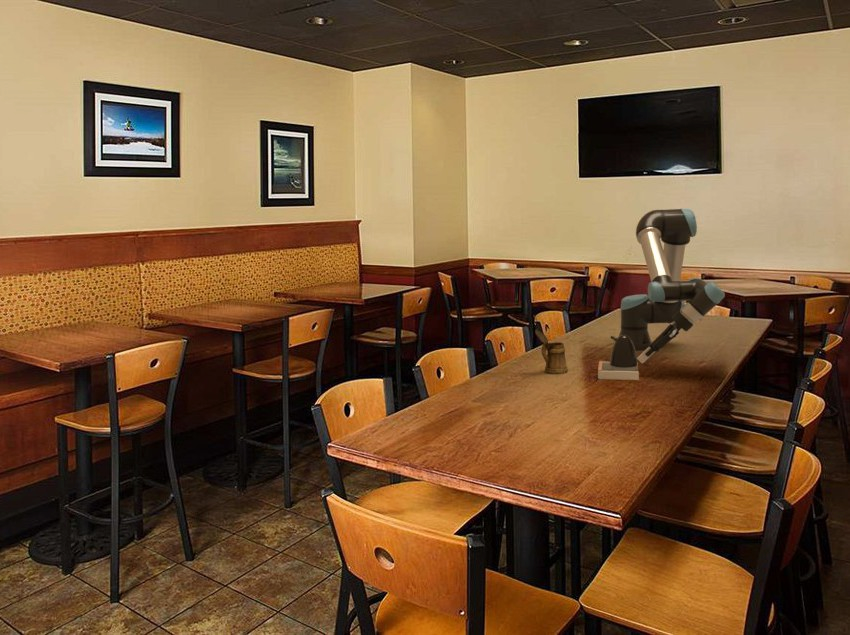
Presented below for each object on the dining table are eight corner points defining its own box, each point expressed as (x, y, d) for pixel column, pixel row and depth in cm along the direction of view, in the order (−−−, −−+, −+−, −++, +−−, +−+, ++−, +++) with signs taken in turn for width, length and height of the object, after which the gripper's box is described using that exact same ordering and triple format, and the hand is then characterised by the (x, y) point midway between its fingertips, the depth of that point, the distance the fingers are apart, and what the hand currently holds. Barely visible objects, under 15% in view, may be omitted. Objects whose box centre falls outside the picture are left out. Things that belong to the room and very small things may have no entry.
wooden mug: (530, 372, 285) (529, 327, 283) (559, 367, 290) (559, 324, 288) (542, 376, 277) (541, 330, 275) (572, 372, 282) (571, 327, 280)
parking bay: (599, 369, 286) (599, 360, 285) (638, 369, 282) (638, 361, 281) (597, 378, 270) (597, 370, 270) (638, 380, 266) (638, 371, 266)
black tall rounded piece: (616, 369, 284) (616, 331, 282) (641, 372, 278) (641, 333, 275) (604, 374, 276) (604, 335, 274) (630, 377, 270) (630, 338, 267)
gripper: (696, 327, 259) (647, 371, 266) (692, 321, 272) (646, 363, 279) (680, 313, 260) (632, 357, 267) (678, 307, 272) (632, 350, 279)
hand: (639, 360), depth 273 cm, fingers closed
